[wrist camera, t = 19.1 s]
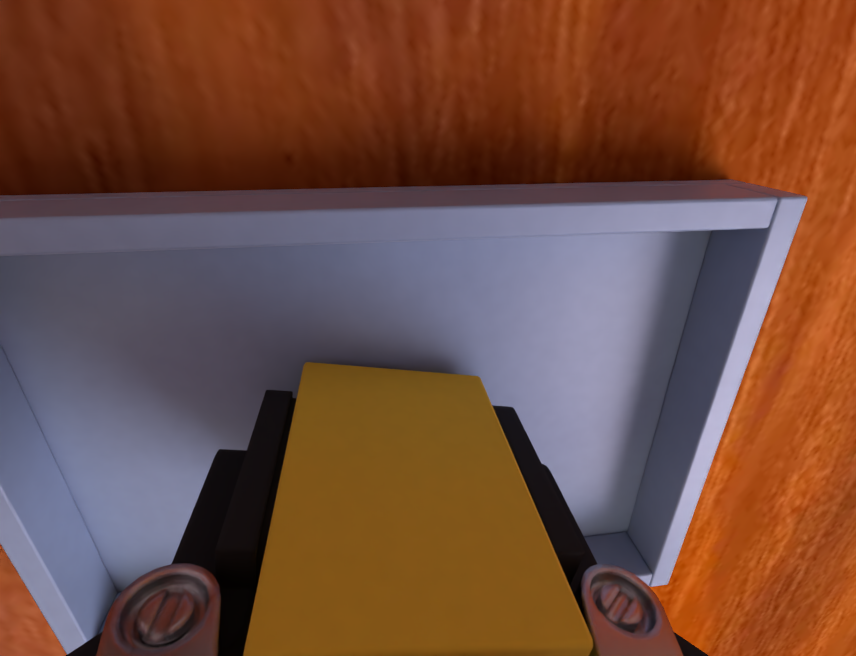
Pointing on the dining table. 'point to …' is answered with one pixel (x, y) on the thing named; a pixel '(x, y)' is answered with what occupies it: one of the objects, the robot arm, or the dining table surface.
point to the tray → (365, 347)
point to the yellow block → (406, 528)
